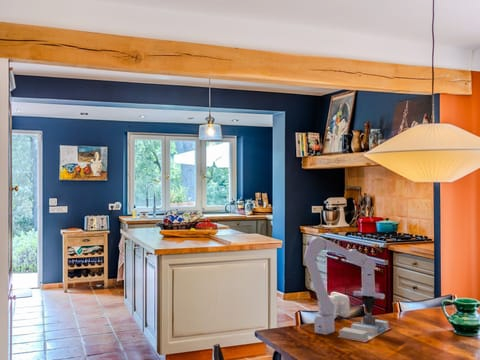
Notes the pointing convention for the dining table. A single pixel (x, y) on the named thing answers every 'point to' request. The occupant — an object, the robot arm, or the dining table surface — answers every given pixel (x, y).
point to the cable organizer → (340, 304)
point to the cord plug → (369, 319)
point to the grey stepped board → (364, 330)
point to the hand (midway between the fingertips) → (369, 312)
